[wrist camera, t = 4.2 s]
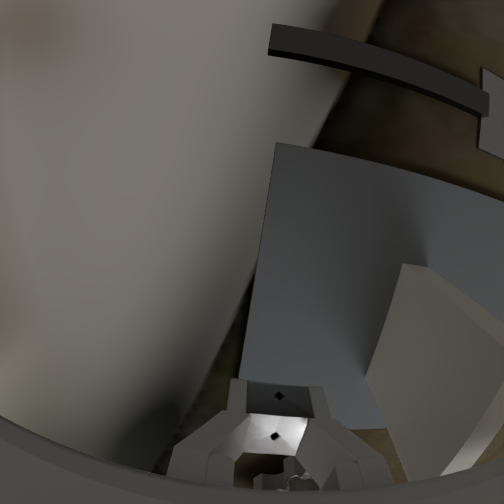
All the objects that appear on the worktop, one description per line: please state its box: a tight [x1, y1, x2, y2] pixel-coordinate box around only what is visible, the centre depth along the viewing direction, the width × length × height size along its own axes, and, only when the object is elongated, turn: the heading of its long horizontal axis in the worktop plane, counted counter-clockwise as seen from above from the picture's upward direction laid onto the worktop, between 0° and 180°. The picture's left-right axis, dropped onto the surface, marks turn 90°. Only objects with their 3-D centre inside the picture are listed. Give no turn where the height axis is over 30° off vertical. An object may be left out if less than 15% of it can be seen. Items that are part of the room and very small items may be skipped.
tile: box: [365, 263, 504, 482], centre depth 12 cm, size 2×7×9 cm, turn 172°
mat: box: [238, 142, 504, 429], centre depth 16 cm, size 24×16×1 cm, turn 82°
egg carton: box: [253, 455, 321, 491], centre depth 19 cm, size 11×8×4 cm
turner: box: [268, 24, 504, 160], centre depth 13 cm, size 20×5×1 cm, turn 82°
